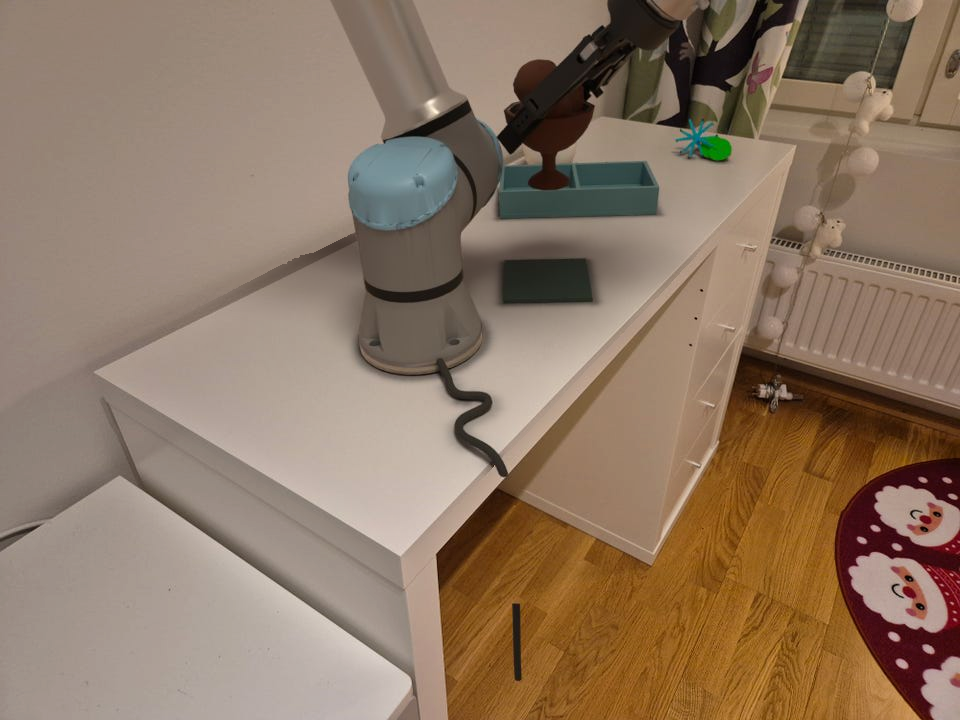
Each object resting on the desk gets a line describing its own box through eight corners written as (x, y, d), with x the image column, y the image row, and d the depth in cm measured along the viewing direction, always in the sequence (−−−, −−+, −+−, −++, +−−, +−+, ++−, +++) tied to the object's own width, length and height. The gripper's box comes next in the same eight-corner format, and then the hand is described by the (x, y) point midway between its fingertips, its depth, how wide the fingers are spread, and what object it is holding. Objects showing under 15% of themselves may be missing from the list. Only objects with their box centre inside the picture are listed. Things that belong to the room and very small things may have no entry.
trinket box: (513, 176, 130) (512, 128, 125) (535, 160, 138) (535, 113, 132) (564, 182, 126) (565, 133, 120) (583, 165, 133) (585, 117, 128)
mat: (592, 301, 88) (592, 297, 88) (503, 303, 89) (503, 299, 88) (585, 261, 98) (585, 257, 97) (505, 263, 99) (504, 259, 98)
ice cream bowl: (564, 204, 79) (567, 70, 71) (490, 188, 85) (484, 63, 77) (606, 177, 86) (613, 53, 78) (535, 165, 92) (534, 47, 83)
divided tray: (656, 214, 111) (659, 186, 108) (499, 218, 113) (499, 191, 110) (644, 186, 122) (646, 160, 119) (501, 190, 124) (501, 165, 121)
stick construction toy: (666, 144, 135) (689, 109, 133) (673, 155, 141) (695, 122, 139) (717, 170, 130) (741, 135, 128) (721, 180, 136) (745, 147, 134)
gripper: (633, 44, 60) (497, 184, 76) (718, 9, 75) (589, 132, 91) (583, -23, 59) (456, 133, 76) (678, -45, 74) (556, 89, 91)
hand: (529, 132), depth 84 cm, fingers closed on ice cream bowl, 11 cm apart
